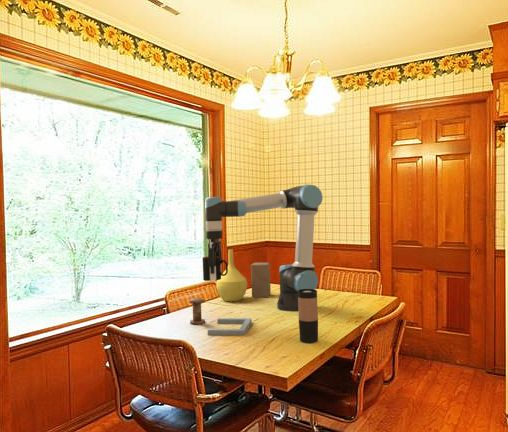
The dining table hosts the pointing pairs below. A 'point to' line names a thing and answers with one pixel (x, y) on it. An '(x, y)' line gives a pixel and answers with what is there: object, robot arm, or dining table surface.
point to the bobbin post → (197, 311)
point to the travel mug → (308, 315)
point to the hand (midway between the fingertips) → (215, 278)
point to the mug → (218, 268)
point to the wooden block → (260, 280)
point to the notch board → (242, 331)
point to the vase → (231, 283)
